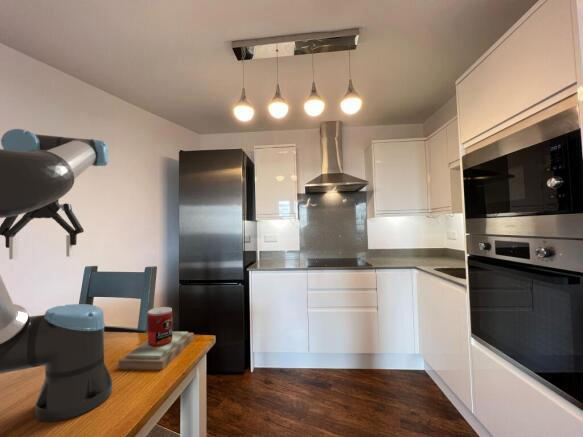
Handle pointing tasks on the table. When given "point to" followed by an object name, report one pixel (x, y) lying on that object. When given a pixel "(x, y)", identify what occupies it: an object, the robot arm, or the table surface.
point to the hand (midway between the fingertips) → (42, 257)
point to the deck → (156, 353)
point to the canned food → (159, 326)
